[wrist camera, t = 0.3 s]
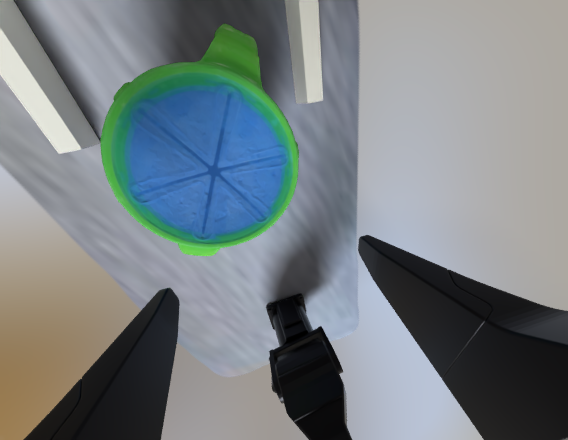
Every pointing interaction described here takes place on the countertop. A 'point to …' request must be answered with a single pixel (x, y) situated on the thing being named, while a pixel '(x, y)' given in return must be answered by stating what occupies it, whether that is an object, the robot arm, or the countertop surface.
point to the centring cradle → (63, 108)
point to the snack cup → (202, 149)
